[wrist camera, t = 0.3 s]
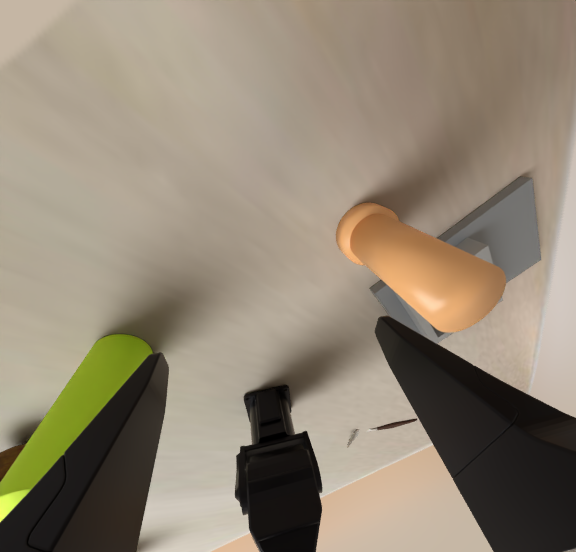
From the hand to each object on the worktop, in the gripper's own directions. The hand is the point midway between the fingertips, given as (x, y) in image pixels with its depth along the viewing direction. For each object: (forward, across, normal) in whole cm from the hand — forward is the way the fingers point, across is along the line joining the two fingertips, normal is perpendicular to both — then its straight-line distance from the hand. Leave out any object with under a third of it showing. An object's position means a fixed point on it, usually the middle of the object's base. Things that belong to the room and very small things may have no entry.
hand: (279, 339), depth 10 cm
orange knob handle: (+15, -12, +2) cm, 19 cm away
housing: (+14, -25, +9) cm, 30 cm away
